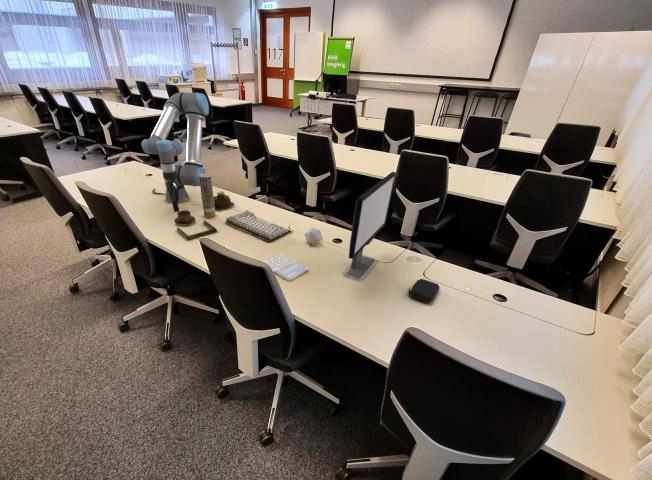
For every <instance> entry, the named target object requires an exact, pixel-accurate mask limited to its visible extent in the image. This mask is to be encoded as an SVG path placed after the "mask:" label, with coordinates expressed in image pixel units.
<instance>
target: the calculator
mask: <svg viewBox="0 0 652 480" xmlns="http://www.w3.org/2000/svg"><path fill="white" fill-rule="evenodd" d="M262 261H264V262H266V263H268V264H269V265H270V266H271V267H272V269H273V270H274V272H275V273H274V272H273V273H274V274H276V275H277V276H279V277H281V278H283V279H285V280H286V281H292V280H295V279H296V278H297V277H299V276H301V275H303V274H304V273H306V272H308V271H309V268H308V266H306V265H304V264H302V263H300V262H298V261H296V260H294V259H292V258H290V257H288V256H287V255H284V254H282V253H279V252H277V253H276V254H273V255H271V256H269V257H267V258H265V259H262Z"/></svg>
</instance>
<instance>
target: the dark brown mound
mask: <svg viewBox="0 0 652 480" xmlns="http://www.w3.org/2000/svg"><path fill="white" fill-rule="evenodd" d="M213 198H214V206H215V211H223V210H227V209H229V208H231V207H233V206H235V203H234V202H232V200H231V197H230V196H229V195H227V194H226V193H225V192H224V191H223V190H221V191H218V192H216V196H213Z"/></svg>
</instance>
